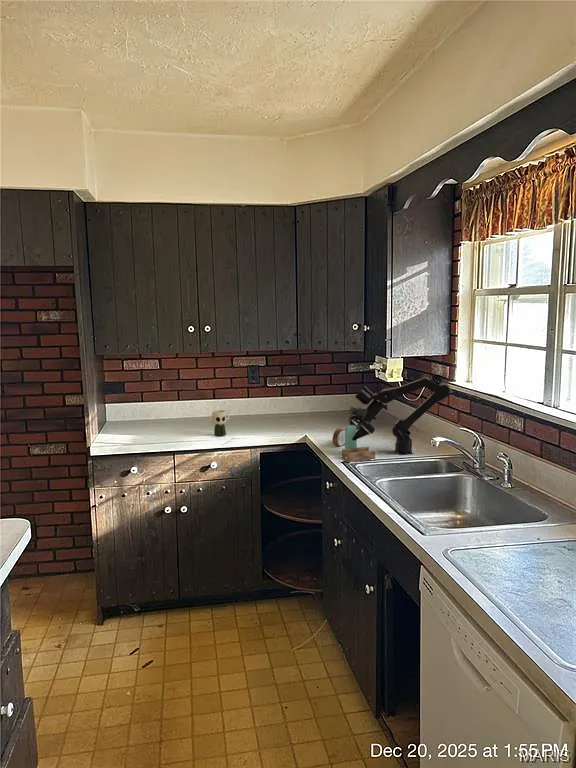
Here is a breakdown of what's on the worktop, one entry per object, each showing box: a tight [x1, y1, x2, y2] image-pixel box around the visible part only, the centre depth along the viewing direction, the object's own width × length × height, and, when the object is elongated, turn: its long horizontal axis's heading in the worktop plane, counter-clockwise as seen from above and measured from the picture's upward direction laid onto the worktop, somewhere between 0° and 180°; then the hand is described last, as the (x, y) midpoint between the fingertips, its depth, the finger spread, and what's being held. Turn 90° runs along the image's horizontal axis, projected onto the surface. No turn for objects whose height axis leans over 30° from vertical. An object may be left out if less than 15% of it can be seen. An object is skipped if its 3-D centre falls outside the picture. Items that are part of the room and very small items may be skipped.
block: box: [344, 424, 358, 449], centre depth 258 cm, size 4×4×13 cm
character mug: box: [208, 409, 230, 437], centre depth 301 cm, size 11×7×13 cm, turn 112°
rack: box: [341, 446, 376, 463], centre depth 250 cm, size 12×8×4 cm
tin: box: [332, 426, 345, 447], centre depth 275 cm, size 15×3×8 cm, turn 141°
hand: (349, 437), depth 257 cm, fingers open, 9 cm apart
